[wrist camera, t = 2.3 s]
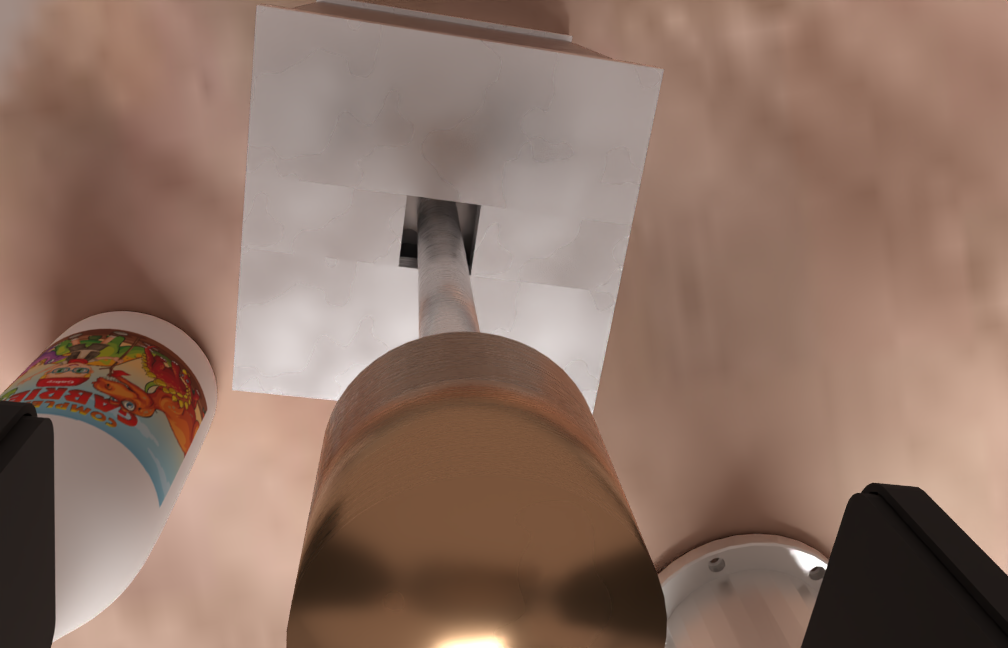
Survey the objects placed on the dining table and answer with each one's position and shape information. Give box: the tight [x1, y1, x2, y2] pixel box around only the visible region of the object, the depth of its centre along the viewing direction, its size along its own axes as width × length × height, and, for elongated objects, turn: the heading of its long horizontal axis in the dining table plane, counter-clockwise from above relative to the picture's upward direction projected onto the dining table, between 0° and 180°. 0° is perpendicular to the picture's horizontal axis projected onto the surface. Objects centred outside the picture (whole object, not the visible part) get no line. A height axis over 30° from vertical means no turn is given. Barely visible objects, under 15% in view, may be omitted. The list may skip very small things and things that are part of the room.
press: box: [232, 0, 664, 415], centre depth 33 cm, size 10×13×16 cm
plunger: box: [287, 195, 667, 648], centre depth 19 cm, size 8×8×20 cm
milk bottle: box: [0, 311, 217, 642], centre depth 33 cm, size 8×8×20 cm
